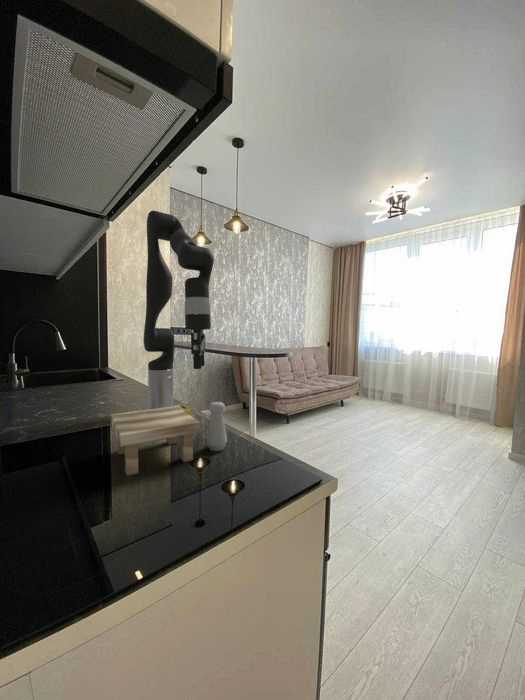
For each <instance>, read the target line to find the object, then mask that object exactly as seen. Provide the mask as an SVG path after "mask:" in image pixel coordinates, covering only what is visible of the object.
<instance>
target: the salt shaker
mask: <svg viewBox="0 0 525 700" xmlns="http://www.w3.org/2000/svg"><path fill="white" fill-rule="evenodd" d="M208 410H209V412H210V417H209V423H208V428H207V433H206V445H207V447H208V449H209V450H210V451H211V452H221V451H224V450H225V447H226V444H227V442H228V436H227V429H226V426H225V419H224V415H223V412H225V410H226V405H225V404H224V402H221V401H213V402H210V404H209V407H208Z"/></svg>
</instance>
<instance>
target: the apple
mask: <svg viewBox="0 0 525 700" xmlns="http://www.w3.org/2000/svg"><path fill="white" fill-rule="evenodd" d="M173 406H178V407H180V408H181V409H183V410H184V411H185V412H187V413H188V414H189V415H191V416H192V417H193V413H192V410H191V408H190V407H189V406H187V405H186V404H185V405H184V404H175V405H174V404H173Z"/></svg>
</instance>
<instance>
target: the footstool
mask: <svg viewBox="0 0 525 700" xmlns="http://www.w3.org/2000/svg"><path fill="white" fill-rule="evenodd" d="M110 424H111V427H112V429H113V430H114V433H115V435H116V440H117V441H116V442H117V443H116V444H117V449H116V450H117V451H118V452H117V454H118V455H124V472H125V475H126V476H132V475H137V474H139V444H140V443H145V442H151V441H157V440H162V439H165V440H166V443H167V444H168V446H169V445H174V444H178V436H180V460H181V461H182V462H183V463H186V462H191V461H193V460H194V433H200V431H201V422H200V421H199V420H197V419H196V418H195V417H193V415H192V416H191V415H189V414H188V413H187V412H185V411H184V410H183V409H181V408H180V407H178V406H174V405H173V407H165V408H157V409H149V408H148V409H143V410H134V411H127V412H120V413H112V414H110Z"/></svg>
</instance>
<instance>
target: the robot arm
mask: <svg viewBox="0 0 525 700" xmlns="http://www.w3.org/2000/svg"><path fill="white" fill-rule="evenodd" d="M146 239H147V240H146V243H147V247H146V248H147V263H146V265H147V266H146V267H147V269H146V283H145V285H146V287H145V291H146V294H145V295H146V303H145V307H146V308H145V309H146V310H145V320H144V321H145V322H144V329H143V348H144V350H145V351H146V352H148V353H157V352H158V353H159V352H162V354H160V356H158V357H157V358H155V359H152V360H150V361H148V364H147V367H148V368H147V371H148V372H147V373H148V374H147V375H148V376H147V378H148V379H147V380H148V386H147V387H148V389H147V390H148V391H147V392H148V394H147V395H148V396H147V397H148V403H147V405H148V410H149V409H157V408H165V407H173V406H174V360H175V359H174V358H175V356H174V355H175V334H174V331H173V329H172V328H162V327H156V326H157V322H158V321H157V320H158V318H159V316H160V314H161V313H162V311H163V309H164V308H165V307H166V305H167V304H168V302H169V301H170V299H171V297H172V294H173V275H172V273H171V270H170V268H169V266H168V264H167V262H166V261H165V259H164V258H163V255H162V253H161V249H160V244H159V243H160V242H159V240H161V241H167V242H169V245H170V248H171V250H172V251H173V252H174V253H175V254H176V257H177V263H178V265H179V266H180V267H181V268H182V269H185V270H189V271H197V272H199V273H198V274H199V275H198V276H196V277H189V278H186V279H185V282H184V298H185V299H184V328H185V330H187V331H192V332H191V333H190V341H191V342H190V349H191V351H190V352H191V355H192V356H193V357H192V359H193V360H192V361H193V362H192V363H193V369H194V370H200V369H201V370H202V367H204V366H205V354H206V340H207V338H206V337H207V336H206V334H205V332H204V331H205V330H211V328H212V323H211V303H210V289H209V288H210V286H209V285H210V281H211V276H212V272H213V271H212V270H213V269H214V264H215V257H214V256H215V255H214V253H213V252H212V250H211V249H209V248H208V247H204V246H198V244H197V243H196V241H195V240H194V239H193V238H192V237H191V236H190V235H188V234H187V232H186V230H185V229H184V227H183V224H182V222H181V221H180V220H179V218H178V217H176V216H175V215H172V214H169V213H165V212H162V211H158V210H150V211H149V212H148V215H147V219H146Z"/></svg>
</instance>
